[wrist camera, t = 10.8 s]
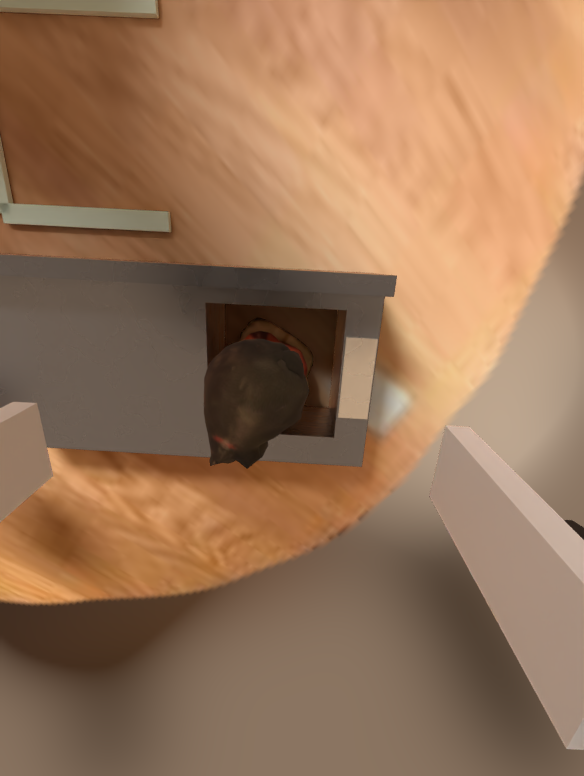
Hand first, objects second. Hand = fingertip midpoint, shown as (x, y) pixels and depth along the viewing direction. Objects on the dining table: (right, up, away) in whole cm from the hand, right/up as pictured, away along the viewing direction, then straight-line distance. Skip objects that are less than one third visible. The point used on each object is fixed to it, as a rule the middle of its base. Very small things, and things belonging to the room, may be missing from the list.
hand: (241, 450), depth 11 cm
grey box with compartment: (-6, +5, +14) cm, 16 cm away
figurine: (0, +4, +15) cm, 15 cm away
